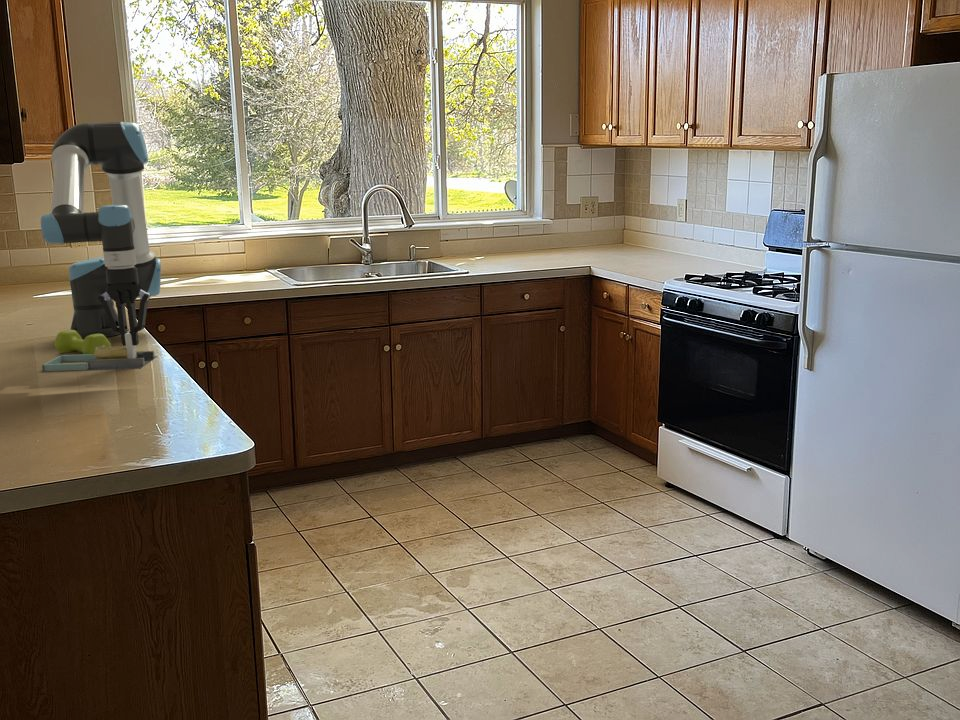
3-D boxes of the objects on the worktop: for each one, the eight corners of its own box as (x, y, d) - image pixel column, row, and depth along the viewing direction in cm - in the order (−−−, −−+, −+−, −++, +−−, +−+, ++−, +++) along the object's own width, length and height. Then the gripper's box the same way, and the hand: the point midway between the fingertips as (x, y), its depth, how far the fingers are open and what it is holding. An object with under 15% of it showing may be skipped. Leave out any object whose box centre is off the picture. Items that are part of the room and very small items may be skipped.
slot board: (105, 363, 246) (104, 350, 245) (158, 361, 246) (157, 348, 246) (85, 376, 233) (83, 362, 232) (141, 374, 233) (139, 360, 232)
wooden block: (101, 362, 241) (99, 347, 240) (117, 361, 241) (115, 346, 240) (96, 365, 237) (94, 350, 236) (111, 365, 237) (109, 349, 236)
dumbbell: (53, 358, 256) (49, 332, 254) (79, 352, 262) (76, 327, 261) (88, 364, 247) (85, 337, 245) (114, 358, 253) (111, 332, 252)
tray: (62, 366, 245) (60, 355, 244) (103, 364, 245) (102, 353, 244) (43, 376, 234) (41, 365, 233) (87, 375, 234) (85, 363, 233)
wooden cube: (117, 361, 241) (115, 346, 240) (132, 360, 241) (131, 345, 240) (111, 365, 237) (110, 349, 237) (127, 364, 238) (125, 349, 237)
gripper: (89, 269, 230) (101, 362, 235) (142, 267, 230) (153, 360, 236) (100, 266, 237) (112, 355, 243) (151, 264, 237) (161, 353, 243)
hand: (132, 357), depth 239 cm, fingers closed
